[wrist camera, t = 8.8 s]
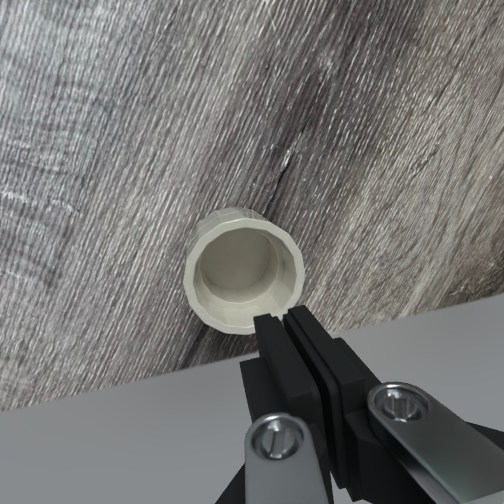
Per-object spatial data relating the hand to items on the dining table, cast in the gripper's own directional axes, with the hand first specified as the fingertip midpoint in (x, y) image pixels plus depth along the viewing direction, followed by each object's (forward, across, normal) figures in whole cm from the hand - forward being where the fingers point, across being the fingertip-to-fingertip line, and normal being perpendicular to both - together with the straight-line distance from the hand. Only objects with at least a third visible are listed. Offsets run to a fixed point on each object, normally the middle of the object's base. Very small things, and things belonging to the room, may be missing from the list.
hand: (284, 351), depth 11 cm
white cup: (+13, 0, 0) cm, 13 cm away
